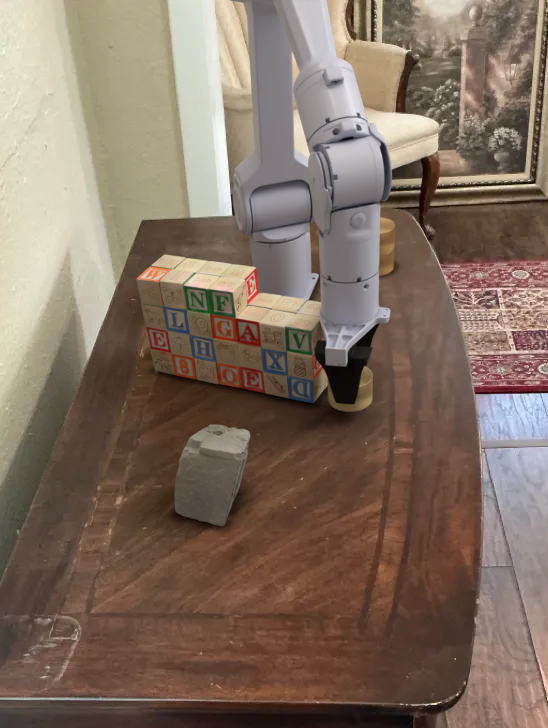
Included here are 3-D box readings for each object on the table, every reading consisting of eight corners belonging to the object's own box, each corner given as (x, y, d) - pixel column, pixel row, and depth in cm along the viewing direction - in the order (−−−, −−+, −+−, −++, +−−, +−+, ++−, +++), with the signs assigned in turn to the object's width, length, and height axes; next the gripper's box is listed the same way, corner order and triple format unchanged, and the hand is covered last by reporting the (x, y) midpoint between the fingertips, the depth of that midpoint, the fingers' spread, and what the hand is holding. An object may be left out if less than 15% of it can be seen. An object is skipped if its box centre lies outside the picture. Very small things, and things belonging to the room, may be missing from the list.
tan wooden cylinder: (332, 385, 96) (332, 361, 94) (375, 388, 95) (376, 364, 93) (324, 409, 93) (323, 386, 91) (368, 413, 92) (368, 389, 90)
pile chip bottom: (359, 258, 121) (359, 237, 119) (396, 260, 120) (397, 239, 118) (352, 275, 118) (352, 254, 116) (390, 277, 116) (391, 256, 114)
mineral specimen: (257, 527, 81) (231, 461, 76) (177, 528, 85) (147, 465, 80) (278, 476, 86) (255, 411, 81) (201, 479, 90) (174, 417, 85)
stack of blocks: (336, 376, 100) (334, 277, 92) (314, 405, 96) (309, 305, 88) (178, 345, 108) (163, 251, 100) (152, 371, 105) (134, 276, 96)
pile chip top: (359, 237, 119) (359, 216, 117) (397, 239, 118) (397, 217, 116) (352, 254, 116) (352, 233, 114) (391, 256, 114) (391, 234, 112)
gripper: (378, 308, 78) (376, 431, 87) (401, 238, 87) (397, 354, 97) (301, 304, 79) (307, 425, 89) (333, 235, 89) (335, 350, 99)
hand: (350, 388), depth 93 cm, fingers closed on tan wooden cylinder, 5 cm apart
